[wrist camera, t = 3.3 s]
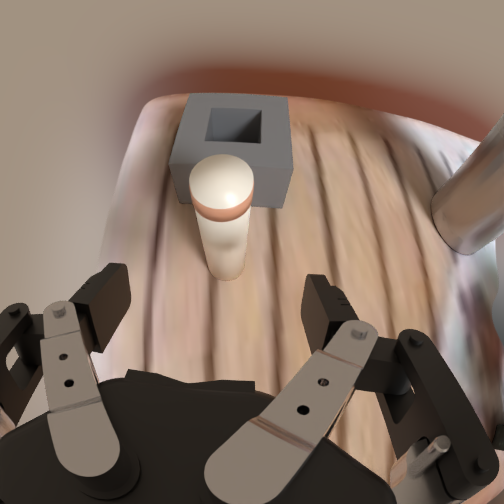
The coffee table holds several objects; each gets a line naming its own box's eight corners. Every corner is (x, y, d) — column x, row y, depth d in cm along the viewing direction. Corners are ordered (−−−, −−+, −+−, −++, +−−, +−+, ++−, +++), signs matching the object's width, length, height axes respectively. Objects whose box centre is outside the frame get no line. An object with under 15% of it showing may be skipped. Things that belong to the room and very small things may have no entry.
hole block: (194, 133, 31) (190, 93, 25) (279, 137, 31) (287, 97, 26) (179, 203, 27) (168, 163, 21) (282, 208, 27) (293, 169, 22)
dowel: (232, 239, 26) (233, 145, 15) (252, 269, 25) (267, 187, 14) (200, 257, 25) (177, 169, 14) (219, 288, 24) (206, 217, 13)
